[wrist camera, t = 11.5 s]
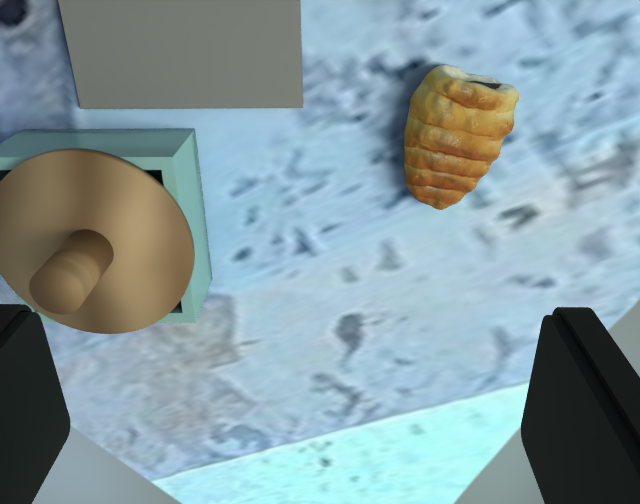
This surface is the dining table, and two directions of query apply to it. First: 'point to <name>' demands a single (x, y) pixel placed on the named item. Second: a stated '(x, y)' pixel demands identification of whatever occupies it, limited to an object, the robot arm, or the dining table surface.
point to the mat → (185, 53)
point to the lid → (93, 241)
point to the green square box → (156, 159)
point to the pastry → (454, 133)
